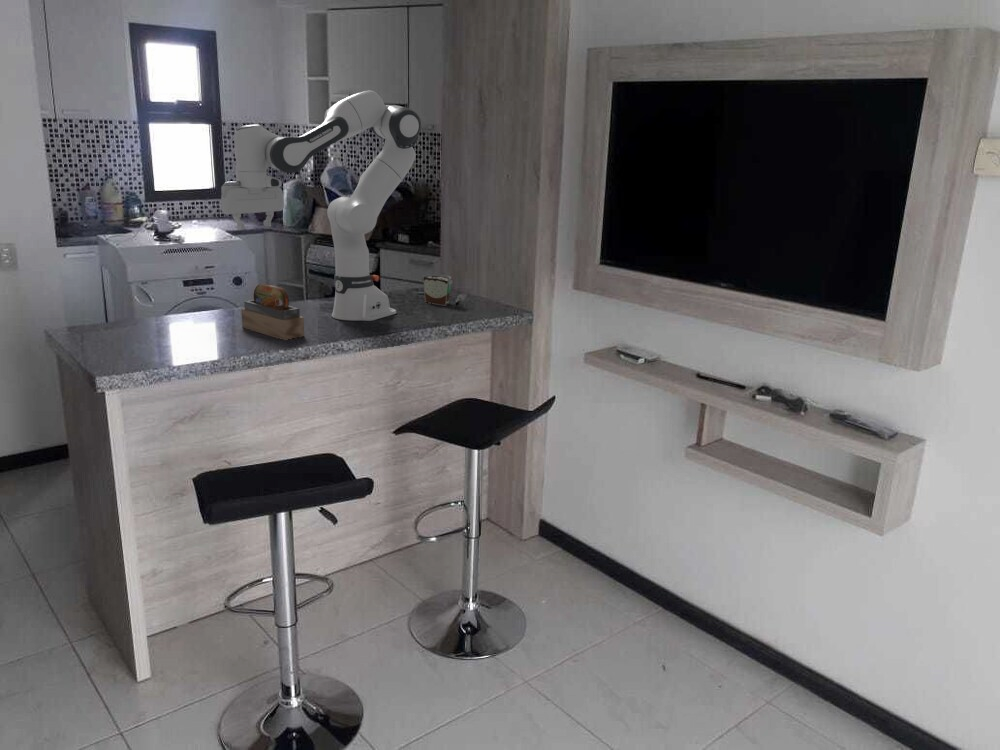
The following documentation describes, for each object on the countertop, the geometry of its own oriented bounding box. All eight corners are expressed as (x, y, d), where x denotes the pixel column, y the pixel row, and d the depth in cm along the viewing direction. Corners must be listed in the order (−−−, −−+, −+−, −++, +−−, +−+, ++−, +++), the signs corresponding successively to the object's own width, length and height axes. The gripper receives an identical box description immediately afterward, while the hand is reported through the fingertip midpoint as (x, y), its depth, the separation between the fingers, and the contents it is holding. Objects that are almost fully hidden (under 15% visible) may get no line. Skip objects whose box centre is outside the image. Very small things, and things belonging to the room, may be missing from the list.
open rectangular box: (261, 323, 258) (260, 297, 255) (304, 336, 244) (303, 309, 242) (242, 327, 252) (240, 300, 250) (284, 340, 239) (283, 312, 237)
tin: (253, 309, 250) (251, 282, 248) (262, 308, 252) (260, 281, 250) (282, 317, 241) (281, 289, 239) (291, 316, 243) (290, 288, 241)
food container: (458, 303, 297) (459, 277, 294) (449, 306, 292) (449, 279, 289) (431, 299, 303) (432, 273, 300) (421, 301, 298) (421, 275, 295)
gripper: (227, 182, 231) (230, 231, 235) (286, 180, 246) (288, 226, 251) (214, 181, 235) (218, 229, 239) (273, 179, 250) (275, 224, 254)
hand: (254, 227), depth 245 cm, fingers open, 8 cm apart
